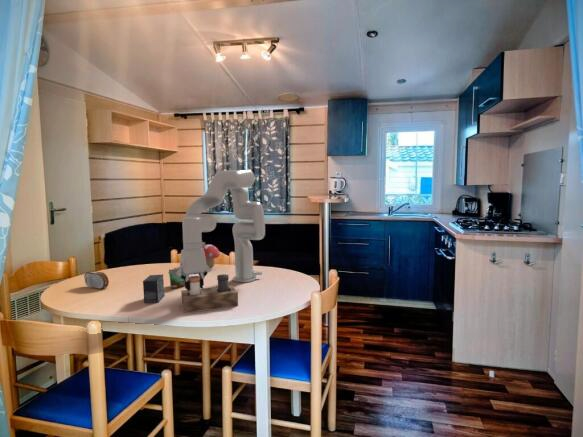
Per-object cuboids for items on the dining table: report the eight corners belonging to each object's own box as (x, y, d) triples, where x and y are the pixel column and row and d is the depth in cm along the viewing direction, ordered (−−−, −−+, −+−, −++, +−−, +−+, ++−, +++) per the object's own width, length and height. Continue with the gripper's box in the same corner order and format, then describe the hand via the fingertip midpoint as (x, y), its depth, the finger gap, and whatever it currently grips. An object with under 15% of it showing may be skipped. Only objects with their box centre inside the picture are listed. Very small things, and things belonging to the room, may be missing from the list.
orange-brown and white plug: (200, 302, 157) (199, 275, 156) (201, 306, 152) (200, 278, 151) (188, 303, 155) (187, 276, 154) (190, 307, 151) (188, 279, 149)
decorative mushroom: (212, 272, 214) (211, 247, 213) (193, 270, 219) (192, 245, 217) (224, 267, 226) (223, 243, 225) (206, 265, 231) (205, 242, 230)
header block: (232, 298, 166) (231, 285, 165) (238, 306, 154) (237, 292, 154) (181, 304, 158) (181, 290, 157) (184, 313, 146) (183, 298, 146)
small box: (150, 296, 169) (149, 274, 168) (164, 296, 169) (163, 274, 168) (143, 304, 158) (142, 280, 157) (158, 303, 159) (157, 280, 158)
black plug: (228, 300, 161) (227, 273, 160) (230, 303, 157) (229, 276, 156) (217, 301, 159) (216, 275, 158) (219, 305, 155) (218, 277, 154)
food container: (180, 290, 179) (179, 270, 178) (169, 289, 180) (168, 269, 179) (192, 283, 191) (191, 264, 190) (181, 282, 192) (180, 264, 191)
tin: (109, 288, 182) (108, 272, 181) (104, 290, 179) (103, 273, 178) (89, 285, 188) (88, 269, 188) (83, 287, 185) (82, 271, 185)
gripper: (209, 242, 159) (210, 283, 161) (169, 247, 150) (171, 290, 152) (215, 245, 153) (216, 287, 155) (174, 249, 144) (176, 294, 146)
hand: (194, 288), depth 153 cm, fingers closed on orange-brown and white plug, 4 cm apart
